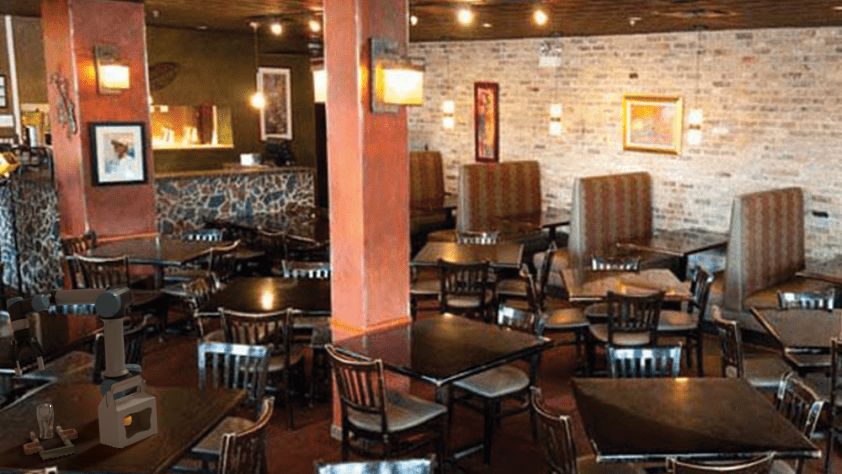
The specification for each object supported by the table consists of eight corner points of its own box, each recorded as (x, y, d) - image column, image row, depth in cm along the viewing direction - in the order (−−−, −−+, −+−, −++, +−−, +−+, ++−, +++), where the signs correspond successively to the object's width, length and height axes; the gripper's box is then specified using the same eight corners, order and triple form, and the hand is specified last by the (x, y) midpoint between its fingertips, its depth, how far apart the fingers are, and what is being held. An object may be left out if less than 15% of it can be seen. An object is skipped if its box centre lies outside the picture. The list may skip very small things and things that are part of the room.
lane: (30, 437, 386) (29, 429, 385) (60, 430, 393) (59, 423, 392) (42, 460, 360) (42, 452, 360) (74, 453, 368) (74, 445, 367)
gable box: (119, 449, 371) (115, 389, 367) (99, 443, 378) (95, 384, 374) (158, 432, 390) (154, 375, 386) (139, 427, 397) (135, 370, 393)
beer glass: (49, 440, 382) (46, 408, 380) (35, 439, 383) (32, 407, 381) (58, 434, 389) (56, 403, 386) (45, 433, 390) (42, 402, 388)
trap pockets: (20, 444, 377) (20, 439, 377) (74, 433, 390) (74, 428, 390) (26, 455, 366) (25, 449, 365) (81, 443, 378) (81, 437, 378)
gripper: (36, 328, 415) (46, 369, 413) (-7, 334, 392) (2, 378, 390) (47, 324, 412) (56, 366, 410) (4, 330, 389) (13, 375, 387)
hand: (30, 372), depth 400 cm, fingers open, 13 cm apart
